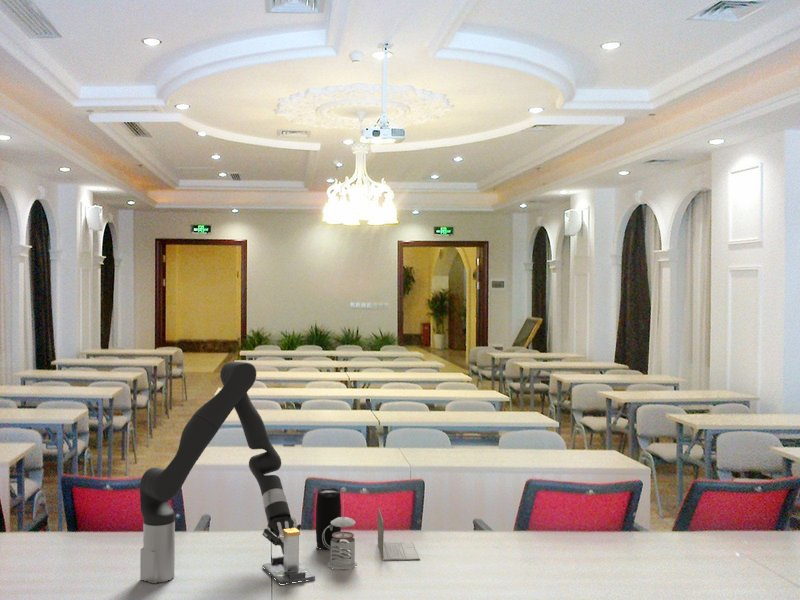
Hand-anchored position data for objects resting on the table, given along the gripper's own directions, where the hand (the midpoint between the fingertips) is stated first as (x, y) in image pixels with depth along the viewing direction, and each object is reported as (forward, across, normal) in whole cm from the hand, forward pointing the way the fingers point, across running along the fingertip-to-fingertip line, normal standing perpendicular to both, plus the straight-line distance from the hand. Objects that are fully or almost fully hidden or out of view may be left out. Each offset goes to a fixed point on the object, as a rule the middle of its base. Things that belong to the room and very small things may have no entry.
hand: (288, 555), depth 258 cm
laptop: (+1, +41, +8) cm, 41 cm away
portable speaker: (-9, +21, +18) cm, 29 cm away
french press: (+3, +18, +5) cm, 19 cm away
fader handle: (+5, 0, +1) cm, 5 cm away
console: (+4, 0, +4) cm, 6 cm away
